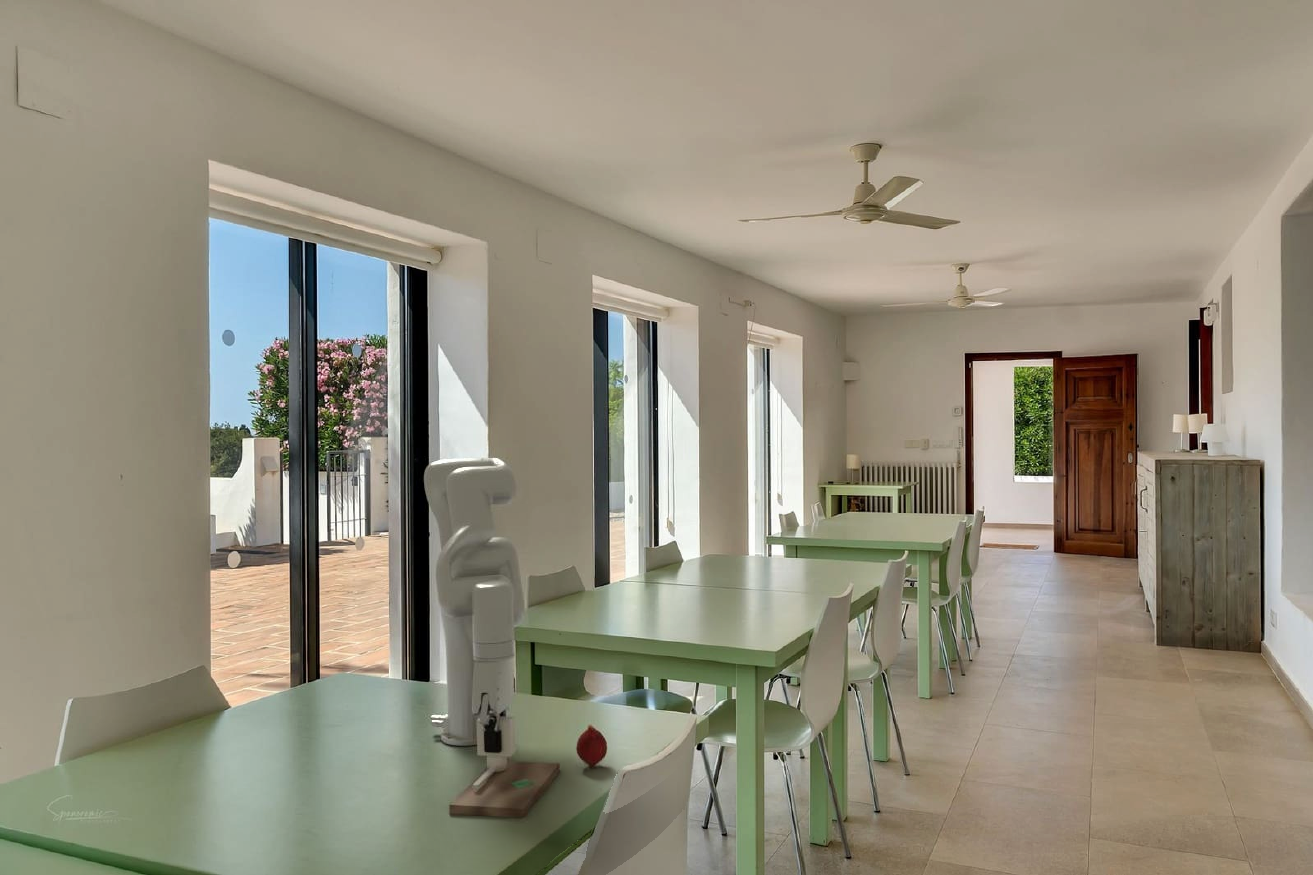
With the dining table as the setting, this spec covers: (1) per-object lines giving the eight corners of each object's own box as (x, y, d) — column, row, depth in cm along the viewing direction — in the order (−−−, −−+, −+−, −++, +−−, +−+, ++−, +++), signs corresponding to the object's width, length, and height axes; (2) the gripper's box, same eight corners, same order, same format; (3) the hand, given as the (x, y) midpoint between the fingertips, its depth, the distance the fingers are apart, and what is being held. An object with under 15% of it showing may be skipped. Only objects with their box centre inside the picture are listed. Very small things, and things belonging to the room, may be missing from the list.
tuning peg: (484, 764, 170) (483, 715, 170) (516, 765, 169) (515, 716, 169) (458, 789, 158) (456, 736, 158) (493, 791, 157) (491, 738, 157)
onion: (612, 762, 175) (611, 721, 175) (600, 773, 169) (599, 730, 169) (584, 760, 177) (583, 718, 177) (572, 770, 171) (570, 728, 171)
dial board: (449, 813, 153) (449, 804, 153) (494, 768, 173) (494, 759, 173) (523, 817, 150) (523, 808, 150) (559, 771, 171) (559, 762, 171)
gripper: (490, 639, 177) (493, 733, 177) (457, 659, 161) (460, 763, 161) (527, 639, 175) (530, 735, 175) (497, 660, 159) (500, 765, 159)
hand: (496, 747), depth 168 cm, fingers closed on tuning peg, 2 cm apart
